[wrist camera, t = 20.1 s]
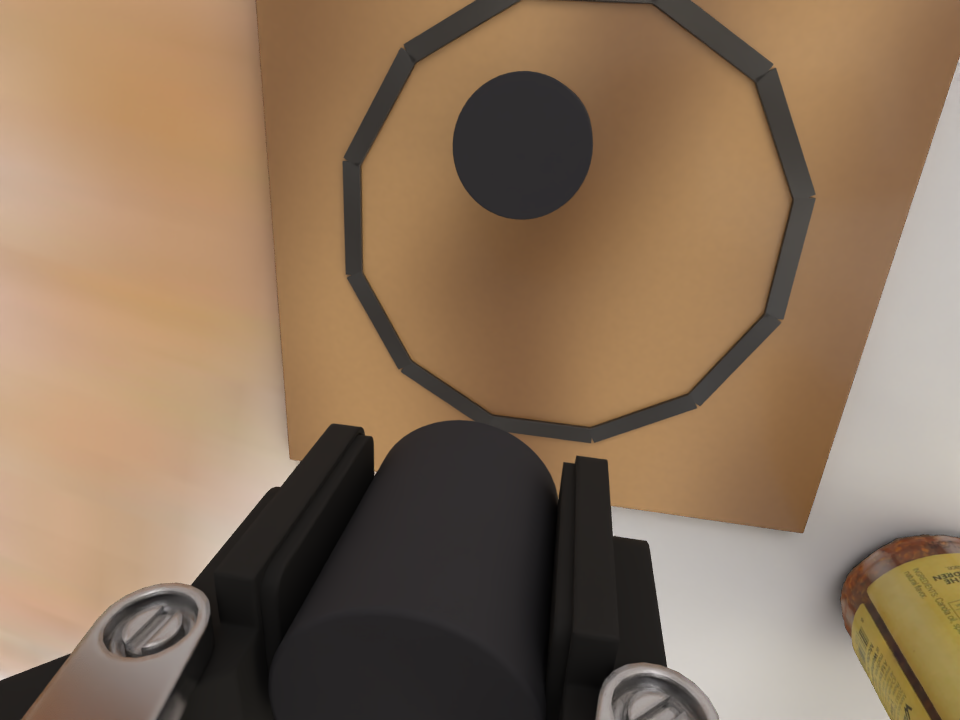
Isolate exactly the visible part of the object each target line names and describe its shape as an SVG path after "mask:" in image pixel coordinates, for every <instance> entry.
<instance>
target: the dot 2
mask: <svg viewBox="0 0 960 720" xmlns="http://www.w3.org/2000/svg"><path fill="white" fill-rule="evenodd" d="M592 153H593V135H592V127H591V122H590V118H589V115H588V112H587V110H586V108H585V106H584V104H583V103H582V101H581V100H580V98H579V97H578V96H577V95H576V94H575V93H574V92H573V91H572V90H570V89H569V88H568V87H567V86H566V85H564V84H563V83H561V82H560V81H558V80H557V79H555V78H553V77H550V76H548V75H545V74H542V73H538V72H532V71H516V72H509V73H506V74H503V75H499V76H497V77H495V78H493V79H491V80H489V81H488V82H486V83H485V84H483V85H482V86H481V87H480V88H478V89H477V90H476V91H475V92H474V93H473V94H472V95H471V97H470V98H469V99H468V100H467V102H466V103H465V105H464V106H463V108H462V110H461V112H460V114H459V116H458V119H457V122H456V125H455V129H454V134H453V158H454V164H455V168H456V171H457V174H458V176H459V179H460V181H461V183H462V184H463V186H464V188H465V189H466V191H467V192H468V193H469V195H470V196H471V197H472V198H473V199H474V200H475V201H476V202H477V203H478V204H479V205H481V206H482V207H483V208H485V209H486V210H488V211H490V212H492V213H494V214H496V215H498V216H501V217H505V218H509V219H516V220H526V219H534V218H538V217H542V216H545V215H547V214H550V213H552V212H554V211H555V210H557V209H559V208H560V207H562V206H563V205H564V204H566V203H567V202H568V201H569V200H570V199H571V198H572V197H573V196H574V195H575V193H576V192H577V191H578V190H579V188H580V187H581V185H582V183H583V182H584V180H585V177H586V175H587V173H588V170H589V167H590V164H591V159H592Z"/></svg>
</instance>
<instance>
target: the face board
mask: <svg viewBox="0 0 960 720" xmlns="http://www.w3.org/2000/svg"><path fill="white" fill-rule="evenodd" d="M256 11H257V24H258V38H259V51H260V65H261V78H262V92H263V105H264V118H265V132H266V145H267V159H268V172H269V186H270V199H271V213H272V226H273V240H274V253H275V267H276V280H277V294H278V307H279V321H280V334H281V348H282V361H283V374H284V388H285V401H286V415H287V428H288V442H289V455H290V459H292V460H299V461H302V460H303V458H304V457H305V456H306V455H307V453H308V452H309V451H310V449H311V448H312V447H313V446H314V444H315V443H316V442H317V441H318V439H319V438H320V437H321V436H322V434H323V433H324V432H325V431H326V429H327V428H328V427H329V426H330V425H331V424H333V423H335V424H343V425H350V426H358V427H362V428H363V429H364V432H365V435H366V436H372V437H373V440H374V471H375V472H377V471H378V469H379V468H380V466H381V464H382V462H383V460H384V459H385V457H386V455H387V454H388V452H389V451H390V450H391V449H392V447H393V446H394V445H395V444H396V443H397V442H398V441H399V440H401V439H402V438H403V437H404V436H406V435H407V434H409V433H410V432H412V431H414V430H416V429H418V428H420V427H423V426H426V425H429V424H432V423H436V422H441V421H448V420H467V421H475V422H480V423H485V424H488V425H491V426H495V427H497V428H499V429H502V430H504V431H506V432H508V433H510V434H512V435H513V436H515V437H517V438H518V439H520V440H521V441H522V442H524V443H525V444H526V445H528V446H529V447H530V448H531V449H532V450H533V451H534V452H535V453H536V454H537V455H538V457H539V458H540V459H541V460H542V462H543V463H544V464H545V466H546V467H547V469H548V471H549V472H550V474H551V476H552V479H553V481H554V483H555V486H556V490H557V494H558V498H559V491H560V483H561V476H562V468H563V462H568V463H575V459H576V455H577V456H584V457H592V458H599V459H607V460H608V471H609V486H610V501H611V506H617V507H624V508H631V509H638V510H644V511H651V512H658V513H665V514H672V515H679V516H686V517H693V518H700V519H707V520H714V521H721V522H728V523H734V524H741V525H748V526H755V527H762V528H769V529H776V530H783V531H790V532H797V533H803V532H804V529H805V526H806V523H807V520H808V517H809V514H810V511H811V508H812V505H813V502H814V499H815V496H816V493H817V490H818V486H819V483H820V480H821V477H822V474H823V471H824V468H825V465H826V462H827V459H828V456H829V453H830V450H831V447H832V444H833V441H834V438H835V435H836V432H837V429H838V426H839V422H840V419H841V416H842V413H843V410H844V407H845V404H846V401H847V398H848V395H849V392H850V389H851V386H852V383H853V380H854V377H855V374H856V371H857V368H858V365H859V362H860V358H861V355H862V352H863V349H864V346H865V343H866V340H867V337H868V334H869V331H870V328H871V325H872V322H873V319H874V316H875V313H876V310H877V307H878V304H879V301H880V298H881V294H882V291H883V288H884V285H885V282H886V279H887V276H888V273H889V270H890V267H891V264H892V261H893V258H894V255H895V252H896V249H897V246H898V243H899V240H900V237H901V234H902V230H903V227H904V224H905V221H906V218H907V215H908V212H909V209H910V206H911V203H912V200H913V197H914V194H915V191H916V188H917V185H918V182H919V179H920V176H921V173H922V170H923V166H924V163H925V160H926V157H927V154H928V151H929V148H930V145H931V142H932V139H933V136H934V133H935V130H936V127H937V124H938V121H939V118H940V115H941V112H942V109H943V106H944V102H945V99H946V96H947V93H948V90H949V87H950V84H951V81H952V78H953V75H954V72H955V69H956V66H957V63H958V60H959V57H960V0H256ZM516 71H532V72H538V73H542V74H545V75H548V76H550V77H553V78H555V79H557V80H558V81H560V82H561V83H563V84H564V85H566V86H567V87H568V88H569V89H570V90H572V91H573V92H574V93H575V94H576V95H577V96H578V97H579V98H580V100H581V101H582V103H583V104H584V106H585V108H586V110H587V112H588V115H589V118H590V122H591V127H592V135H593V153H592V159H591V164H590V167H589V170H588V173H587V175H586V177H585V180H584V182H583V183H582V185H581V187H580V188H579V190H578V191H577V192H576V193H575V195H574V196H573V197H572V198H571V199H570V200H569V201H568V202H567V203H566V204H564V205H563V206H562V207H560V208H559V209H557V210H555V211H554V212H552V213H550V214H547V215H545V216H542V217H538V218H534V219H526V220H516V219H509V218H505V217H501V216H498V215H496V214H494V213H492V212H490V211H488V210H486V209H485V208H483V207H482V206H481V205H479V204H478V203H477V202H476V201H475V200H474V199H473V198H472V197H471V196H470V195H469V193H468V192H467V191H466V189H465V188H464V186H463V184H462V183H461V181H460V179H459V176H458V174H457V171H456V168H455V164H454V158H453V134H454V129H455V125H456V122H457V119H458V116H459V114H460V112H461V110H462V108H463V106H464V105H465V103H466V102H467V100H468V99H469V98H470V97H471V95H472V94H473V93H474V92H475V91H476V90H477V89H478V88H480V87H481V86H482V85H483V84H485V83H486V82H488V81H489V80H491V79H493V78H495V77H497V76H499V75H503V74H506V73H509V72H516Z"/></svg>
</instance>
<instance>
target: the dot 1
mask: <svg viewBox="0 0 960 720" xmlns="http://www.w3.org/2000/svg"><path fill="white" fill-rule="evenodd" d="M557 506H558V494H557V490H556V486H555V483H554V481H553V479H552V476H551V474H550V472H549V471H548V469H547V467H546V466H545V464H544V463H543V462H542V460H541V459H540V458H539V457H538V455H537V454H536V453H535V452H534V451H533V450H532V449H531V448H530V447H529V446H528V445H526V444H525V443H524V442H522V441H521V440H520V439H518V438H517V437H515V436H513V435H512V434H510V433H508V432H506V431H504V430H502V429H499V428H497V427H495V426H491V425H488V424H485V423H480V422H475V421H467V420H448V421H441V422H436V423H432V424H429V425H426V426H423V427H420V428H418V429H416V430H414V431H412V432H410V433H409V434H407V435H406V436H404V437H403V438H402V439H401V440H399V441H398V442H397V443H396V444H395V445H394V446H393V447H392V449H391V450H390V451H389V452H388V454H387V455H386V457H385V459H384V460H383V462H382V464H381V466H380V468H379V469H378V471H377V473H376V475H375V476H374V478H373V480H372V482H371V483H370V485H369V487H368V489H367V491H366V492H365V494H364V496H363V498H362V499H361V501H360V503H359V505H358V507H357V508H356V510H355V512H354V514H353V515H352V517H351V519H350V521H349V523H348V524H347V526H346V528H345V530H344V531H343V533H342V535H341V537H340V538H339V540H338V542H337V544H336V546H335V547H334V549H333V551H332V553H331V554H330V556H329V558H328V560H327V562H326V563H325V565H324V567H323V569H322V570H321V572H320V574H319V576H318V578H317V579H316V581H315V583H314V585H313V586H312V588H311V590H310V592H309V594H308V595H307V597H306V599H305V601H304V602H303V604H302V606H301V608H300V609H299V611H298V613H297V615H296V617H295V618H294V620H293V622H292V624H291V625H290V627H289V629H288V631H287V633H286V634H285V636H284V638H283V640H282V641H281V643H280V645H279V647H278V649H277V650H276V652H275V654H274V657H273V660H272V663H271V666H270V672H269V680H268V690H269V699H270V705H271V709H272V711H273V714H274V717H275V720H546V698H545V685H546V670H547V655H548V640H549V625H550V610H551V595H552V580H553V565H554V550H555V535H556V520H557Z"/></svg>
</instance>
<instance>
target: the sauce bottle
mask: <svg viewBox="0 0 960 720" xmlns="http://www.w3.org/2000/svg"><path fill="white" fill-rule="evenodd" d="M840 601H841V605H842V614H843V619H844V623H845V628H846V630H847V632H848V633H849V635H850V637H851V638H852V645H853V648H854V651H855V653H856V655H857V657H858V659H859V661H860V663H861V665H862V667H863V668H864V670H865V672H866V674H867V676H868V677H869V679H870V681H871V683H872V685H873V687H874V689H875V691H876V693H877V695H878V697H879V699H880V701H881V703H882V704H883V706H884V708H885V710H886V712H887V714H888V716H889V717H890V719H891V720H960V538H958V537H951V536H946V535H940V536H939V535H935V536H931V535H924V534H923V535H920V536H913V537H904V538H896V539H895V540H894V541H893V542H891V543H889V544H887V545H884V546H883V547H881V548H879V549H877V550H876V551H875V552H873V553H872V554H871V555H870V556H868V557H867V558H866V559H864V560H863V561H861V562H860V563H859V564H858V565H857V566H856V567H854V568H853V570H852V571H851V572H850V573H849V574H848V575H847V578H846V581H845V582H844V584H843V588H842V592H841V598H840Z"/></svg>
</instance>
